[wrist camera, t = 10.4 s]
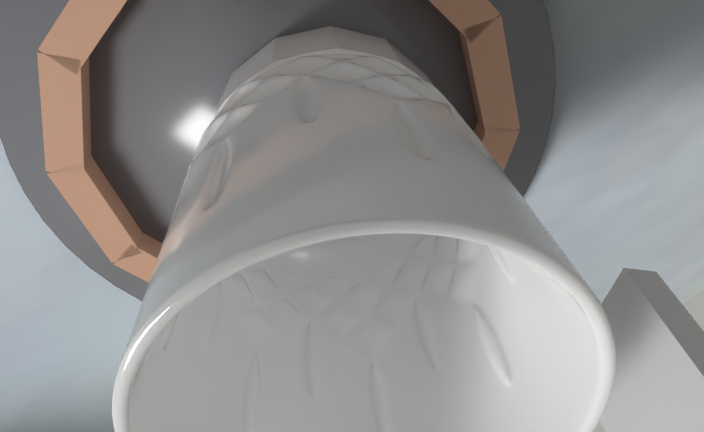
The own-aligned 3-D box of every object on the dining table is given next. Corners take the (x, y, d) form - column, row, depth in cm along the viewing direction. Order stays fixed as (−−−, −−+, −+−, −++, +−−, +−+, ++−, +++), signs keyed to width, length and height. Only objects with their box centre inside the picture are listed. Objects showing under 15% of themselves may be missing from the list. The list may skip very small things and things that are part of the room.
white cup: (499, 39, 16) (721, 268, 8) (411, 259, 21) (501, 558, 12) (210, -32, 15) (125, 169, 6) (178, 225, 19) (101, 547, 11)
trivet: (-42, -283, 12) (-75, -293, 11) (642, -103, 15) (672, -96, 14) (23, 301, 21) (8, 330, 19) (454, 336, 24) (463, 363, 23)
